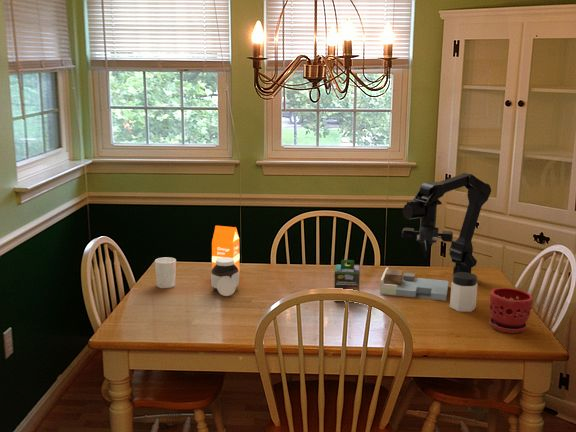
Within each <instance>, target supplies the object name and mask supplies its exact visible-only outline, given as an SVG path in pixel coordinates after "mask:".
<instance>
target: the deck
mask: <svg viewBox="0 0 576 432" xmlns="http://www.w3.org/2000/svg"><path fill="white" fill-rule="evenodd" d="M387 269H389V267H388V266H387V267H385V270H384V272H383V274H382V276H381V278H380V279H379V280H380V282H379V284H380V285H379V294H381V295H388V296H397V297H398V296H399V297H405V298H406V297H408V298H417V299H418V298H419V299H427V300H434V301H435V300H436V301H444V302H446V301H447V297H448V296H447V295H448V290H449V280H443V279H434V278H433V279H432V278H424V277H423V278H421V277H416V278H415V282H413V281H403V276H404V275H403V276H402V283H401V286H399V285H392V284H385V273H386V270H387Z"/></svg>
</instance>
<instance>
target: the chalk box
mask: <svg viewBox="0 0 576 432" xmlns="http://www.w3.org/2000/svg"><path fill="white" fill-rule="evenodd" d="M360 267H361V265H360V264H355V260H353V259H342V260H341V261H340V264H335V266H334V276H333V277H334V279H333V282H334V284H333V286H334V287H333V289H334V288H343V289H353V290H358V291H359V292H360V283H361V281H360V280H361V278H360V276H361V275H360V273H361V269H360ZM333 301H334V300H333ZM334 302H336V301H334ZM338 302H342V301H338ZM342 303H343V302H342Z"/></svg>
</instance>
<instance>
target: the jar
mask: <svg viewBox="0 0 576 432" xmlns="http://www.w3.org/2000/svg"><path fill="white" fill-rule="evenodd" d="M477 295H478V276H477V274H475V273H472V272H471V273H468V272H457V273H454V274H453V273H452V281H451V284H450V299H449V308H451V309H453V310H454V311H456V312H460V313H461V312H462V313H464V312H465V313H472V312H473V311H474V310H476V307H477V306H476V305H477Z"/></svg>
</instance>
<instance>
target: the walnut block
mask: <svg viewBox="0 0 576 432" xmlns="http://www.w3.org/2000/svg"><path fill="white" fill-rule="evenodd" d="M402 276H404V270H400V269H399V270H398V269H390V268H388V269H387V270H386V273H385V284H392V285H399V286H401V283H402V280H403V279H402Z"/></svg>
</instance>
